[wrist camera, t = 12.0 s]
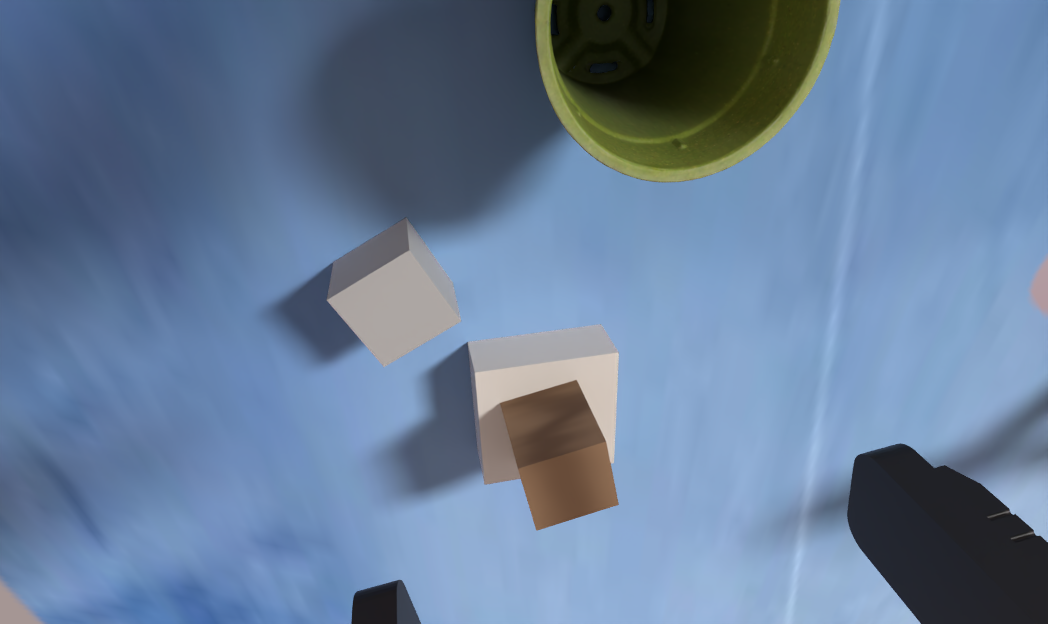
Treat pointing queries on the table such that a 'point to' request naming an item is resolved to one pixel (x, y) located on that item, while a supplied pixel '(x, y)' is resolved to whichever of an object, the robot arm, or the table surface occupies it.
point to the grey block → (393, 293)
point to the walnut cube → (559, 454)
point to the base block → (538, 385)
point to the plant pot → (680, 78)
